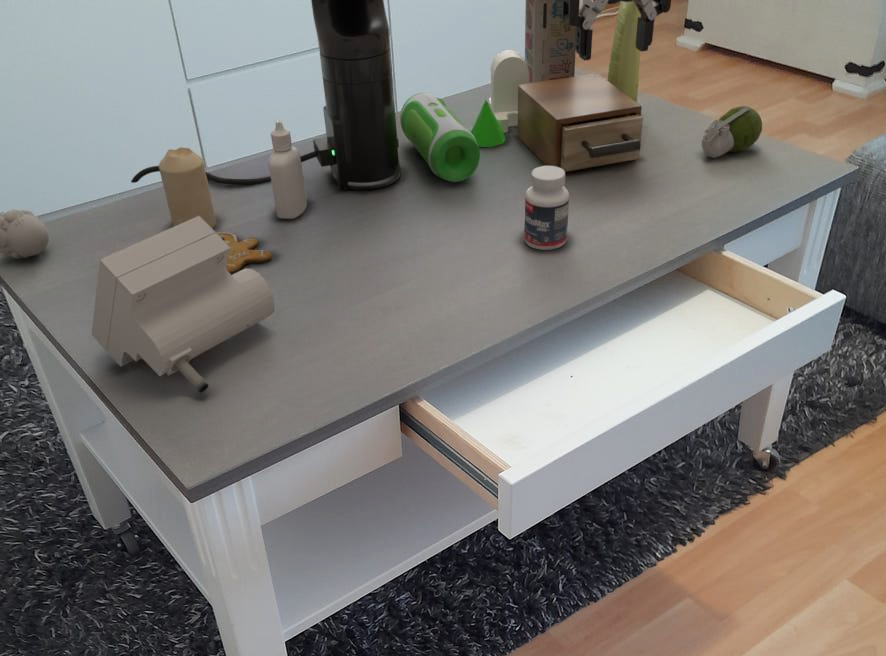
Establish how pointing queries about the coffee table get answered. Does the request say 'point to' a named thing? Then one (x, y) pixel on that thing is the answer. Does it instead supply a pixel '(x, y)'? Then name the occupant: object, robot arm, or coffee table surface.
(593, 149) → the dresser drawer
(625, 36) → the tube
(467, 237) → the coffee table surface
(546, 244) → the pill bottle
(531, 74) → the juice carton
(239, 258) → the cookie
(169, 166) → the candle
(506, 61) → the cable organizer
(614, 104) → the wooden mini dresser
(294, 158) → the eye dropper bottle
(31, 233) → the beige rounded lump
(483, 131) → the gemstone
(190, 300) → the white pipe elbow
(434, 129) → the speaker
